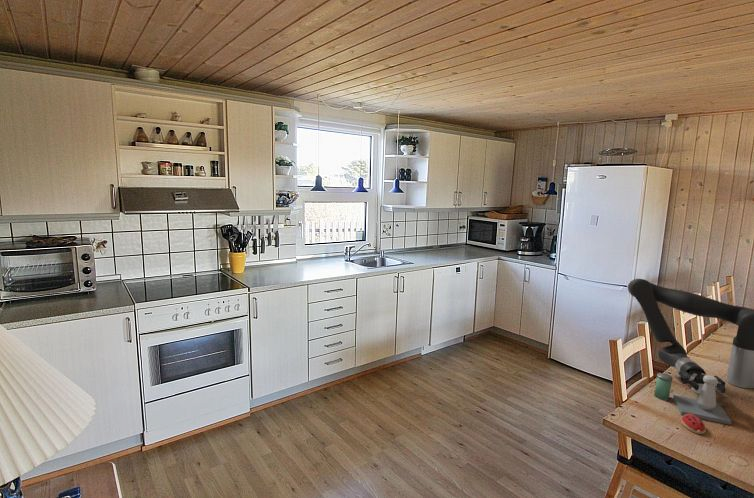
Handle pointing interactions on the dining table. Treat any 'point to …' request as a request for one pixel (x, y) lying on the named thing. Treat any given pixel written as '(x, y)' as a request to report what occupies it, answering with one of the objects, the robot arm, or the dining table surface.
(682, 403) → the cutting board
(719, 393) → the brown wooden block
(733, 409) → the dining table surface
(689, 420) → the ladybug figurine
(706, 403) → the salt shaker
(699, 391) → the white dome
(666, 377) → the dark green jar
